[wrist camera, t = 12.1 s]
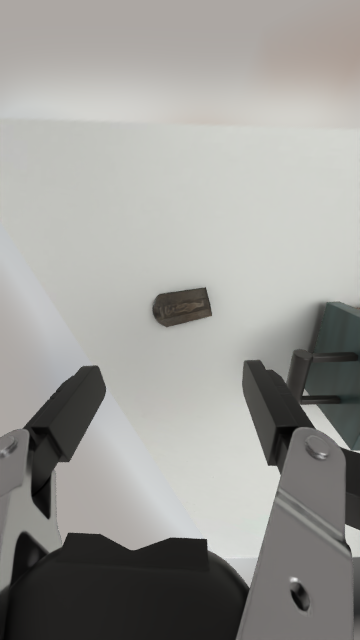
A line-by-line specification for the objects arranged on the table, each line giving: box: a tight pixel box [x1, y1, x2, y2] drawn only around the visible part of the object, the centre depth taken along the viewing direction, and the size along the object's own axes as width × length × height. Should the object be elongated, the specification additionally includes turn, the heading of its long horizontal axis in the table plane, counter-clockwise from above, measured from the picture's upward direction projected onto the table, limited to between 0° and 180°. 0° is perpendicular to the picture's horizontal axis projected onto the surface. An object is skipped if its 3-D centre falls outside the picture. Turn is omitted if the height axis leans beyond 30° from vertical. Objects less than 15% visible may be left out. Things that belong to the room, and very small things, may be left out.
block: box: [153, 288, 212, 327], centre depth 19 cm, size 4×6×2 cm, turn 107°
